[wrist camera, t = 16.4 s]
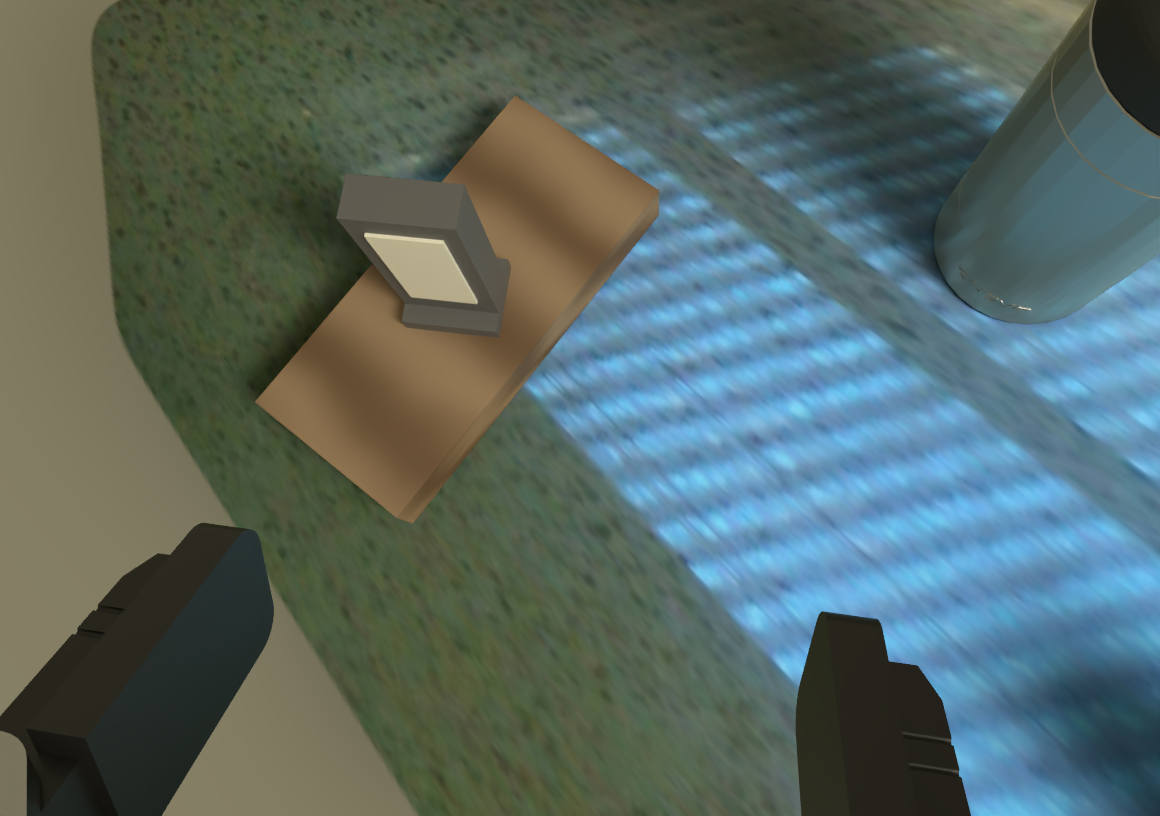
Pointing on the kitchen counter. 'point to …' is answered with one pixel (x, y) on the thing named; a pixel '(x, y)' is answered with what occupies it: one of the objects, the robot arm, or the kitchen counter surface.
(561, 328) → the wooden block
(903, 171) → the kitchen counter surface
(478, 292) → the picture frame
